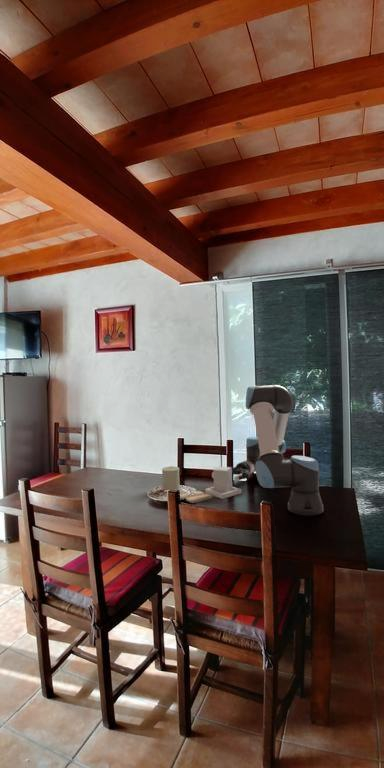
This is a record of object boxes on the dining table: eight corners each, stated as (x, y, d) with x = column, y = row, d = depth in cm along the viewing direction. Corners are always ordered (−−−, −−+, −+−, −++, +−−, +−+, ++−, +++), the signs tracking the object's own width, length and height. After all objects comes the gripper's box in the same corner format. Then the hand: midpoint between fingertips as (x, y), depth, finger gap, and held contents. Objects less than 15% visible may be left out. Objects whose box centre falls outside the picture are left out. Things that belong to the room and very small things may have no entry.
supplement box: (232, 491, 203) (232, 467, 203) (226, 496, 197) (226, 470, 196) (220, 490, 207) (219, 466, 206) (213, 494, 200) (212, 469, 200)
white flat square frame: (241, 493, 200) (241, 489, 200) (222, 498, 193) (222, 494, 193) (224, 487, 211) (224, 483, 211) (205, 492, 203) (205, 488, 203)
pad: (212, 497, 195) (212, 495, 195) (192, 503, 187) (192, 501, 187) (197, 492, 204) (197, 490, 204) (178, 497, 197) (178, 495, 197)
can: (181, 487, 213) (180, 465, 213) (178, 492, 204) (178, 469, 203) (164, 487, 214) (163, 465, 214) (161, 492, 205) (160, 469, 204)
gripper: (265, 478, 212) (244, 488, 195) (225, 472, 227) (204, 480, 210) (264, 464, 211) (244, 473, 195) (225, 459, 227) (203, 466, 210)
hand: (223, 477), depth 203 cm, fingers open, 13 cm apart
